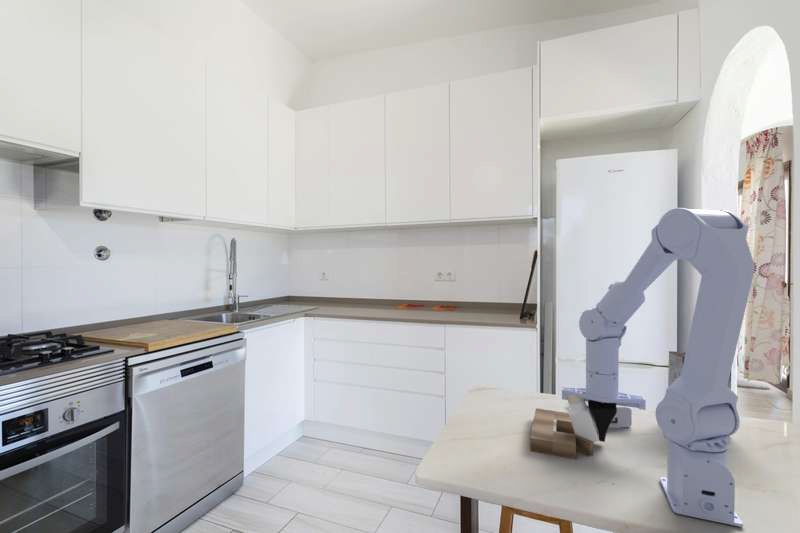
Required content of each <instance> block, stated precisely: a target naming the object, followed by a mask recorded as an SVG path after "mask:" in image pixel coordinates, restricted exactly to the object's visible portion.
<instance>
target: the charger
mask: <svg viewBox="0 0 800 533" xmlns="http://www.w3.org/2000/svg"><path fill="white" fill-rule="evenodd" d="M585 403H586V405H588V401H585ZM616 408H617V413H616V415H615V416H614V418H613V419H612V421H611V423H610V425H609V427H608V429H621V428H620V427H629V428H631V427H632V418H633V417H632V413H633V412H632V409H631V407H627V406H619V405H616ZM593 419H594V418H593ZM594 422H595V420H594ZM595 425H596V423H595ZM596 428H597V426H596Z"/></svg>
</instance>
